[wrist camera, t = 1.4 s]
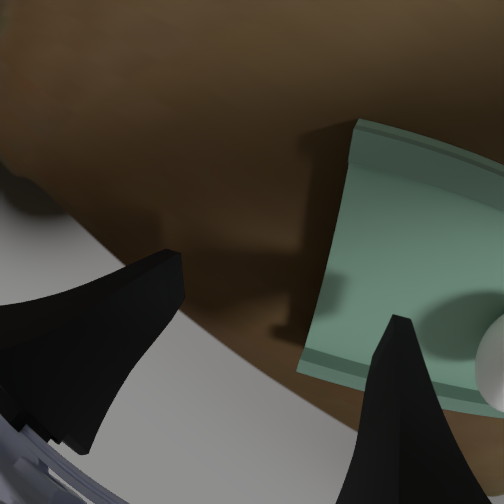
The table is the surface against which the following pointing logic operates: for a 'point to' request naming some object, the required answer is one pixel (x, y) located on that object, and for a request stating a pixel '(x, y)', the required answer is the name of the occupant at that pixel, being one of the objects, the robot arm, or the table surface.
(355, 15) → the table surface
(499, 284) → the green tray
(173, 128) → the table surface
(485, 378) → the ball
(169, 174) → the table surface
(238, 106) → the table surface
